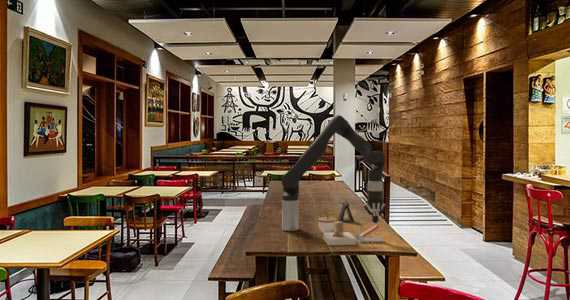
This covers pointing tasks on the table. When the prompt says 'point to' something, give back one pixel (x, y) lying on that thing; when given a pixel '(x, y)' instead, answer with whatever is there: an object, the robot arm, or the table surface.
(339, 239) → the socket block
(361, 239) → the lever bracket
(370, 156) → the robot arm
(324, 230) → the lidded jar
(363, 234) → the latch lever
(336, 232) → the peg
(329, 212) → the table surface
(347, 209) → the phone stand
